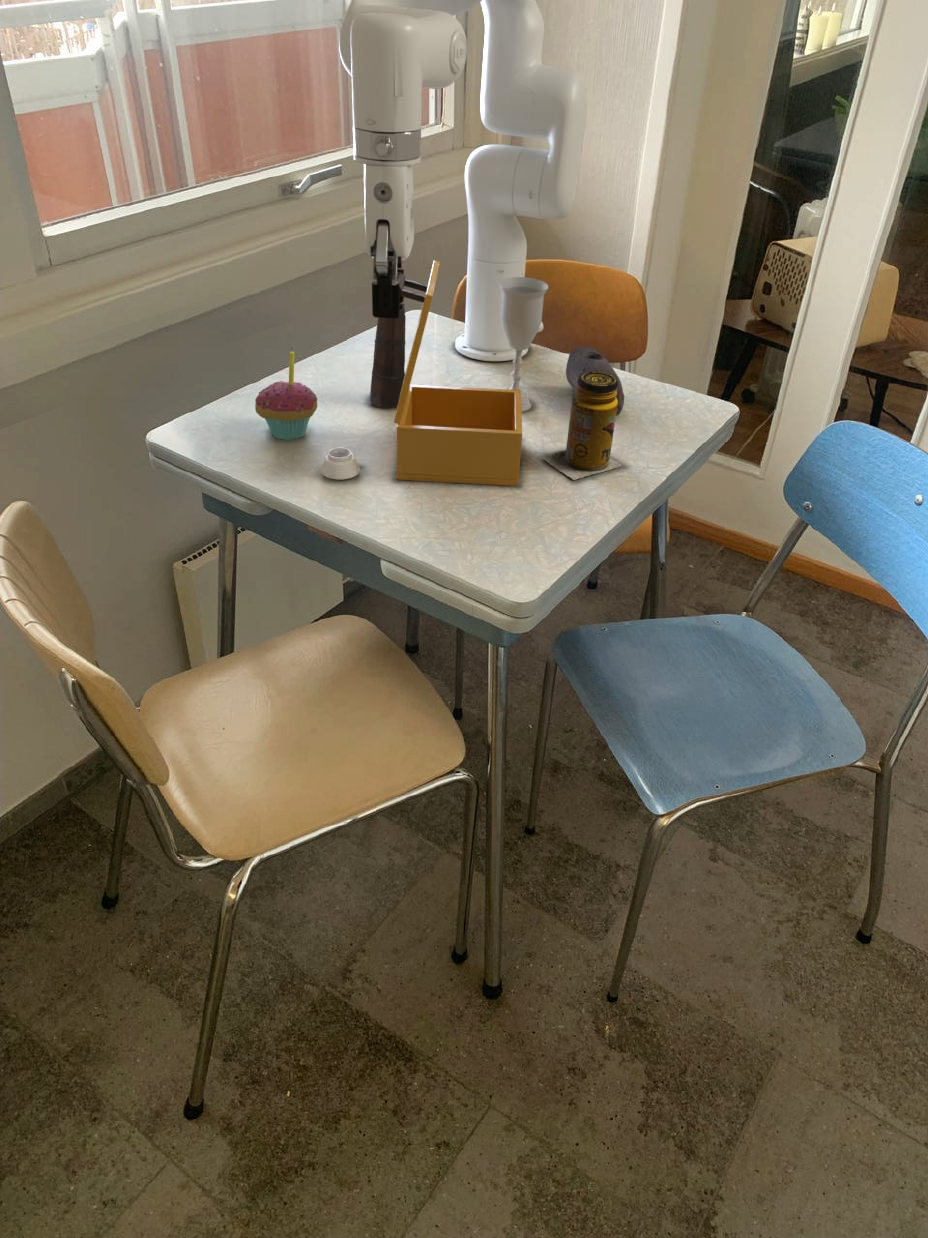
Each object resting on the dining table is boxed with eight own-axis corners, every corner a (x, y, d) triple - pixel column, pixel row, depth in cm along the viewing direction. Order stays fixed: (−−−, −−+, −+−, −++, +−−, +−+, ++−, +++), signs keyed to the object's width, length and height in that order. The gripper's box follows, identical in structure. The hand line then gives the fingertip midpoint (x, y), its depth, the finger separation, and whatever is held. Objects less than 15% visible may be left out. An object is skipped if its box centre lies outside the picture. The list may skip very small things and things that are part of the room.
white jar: (313, 473, 120) (339, 486, 117) (312, 452, 118) (338, 465, 116) (341, 460, 123) (367, 472, 121) (340, 440, 121) (367, 452, 119)
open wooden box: (517, 439, 130) (521, 389, 126) (517, 486, 119) (522, 433, 115) (406, 433, 130) (406, 383, 126) (396, 479, 119) (396, 427, 115)
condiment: (622, 466, 125) (635, 382, 118) (573, 481, 121) (584, 395, 114) (588, 445, 130) (598, 363, 122) (540, 458, 126) (548, 374, 119)
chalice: (545, 411, 138) (557, 290, 127) (503, 417, 136) (512, 294, 125) (524, 392, 144) (534, 275, 133) (484, 397, 141) (491, 278, 131)
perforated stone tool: (632, 424, 136) (639, 379, 132) (600, 427, 134) (606, 382, 130) (591, 384, 147) (596, 342, 143) (560, 387, 146) (565, 344, 142)
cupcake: (285, 415, 134) (278, 334, 126) (332, 430, 130) (328, 347, 123) (245, 436, 128) (236, 352, 120) (293, 452, 124) (286, 367, 117)
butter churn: (408, 421, 134) (409, 217, 117) (347, 411, 135) (339, 209, 119) (427, 397, 141) (430, 202, 124) (369, 388, 143) (364, 194, 126)
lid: (440, 261, 116) (398, 249, 115) (432, 296, 105) (387, 282, 104) (409, 381, 126) (370, 370, 125) (399, 424, 115) (357, 413, 114)
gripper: (414, 162, 95) (413, 334, 106) (426, 134, 109) (423, 289, 120) (342, 158, 95) (348, 331, 106) (363, 131, 109) (366, 286, 120)
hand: (388, 307), depth 113 cm, fingers closed on lid, 5 cm apart
